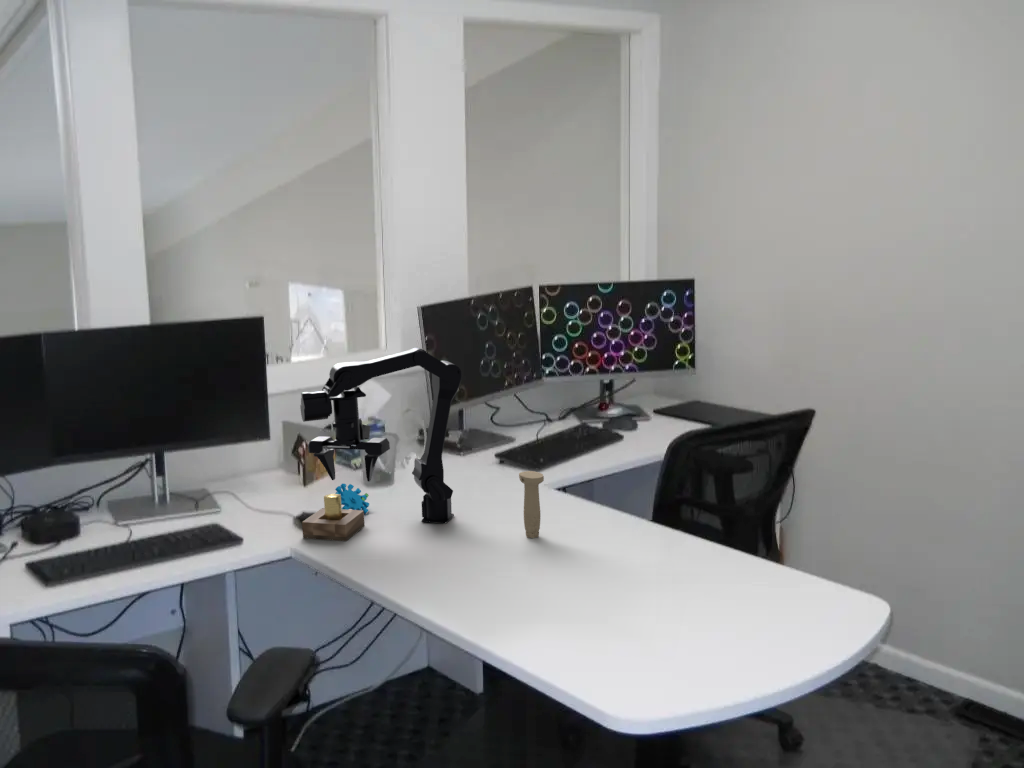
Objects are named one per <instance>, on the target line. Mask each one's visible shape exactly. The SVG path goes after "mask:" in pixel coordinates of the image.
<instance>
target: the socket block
mask: <svg viewBox="0 0 1024 768" xmlns="http://www.w3.org/2000/svg"><path fill="white" fill-rule="evenodd" d="M301 524H302V525H301V526H302V527H301V528H302V538H303V539H307V540H308V539H309V540H310V539H311V540H324V541H335V542H336V541H339V542H347V541H348V540H349V539H351V538H352V537H353V536H355V534H357V533H358V532H359V531H361V530H362V529H363V528H365V514H364V511H363V510H362V509H361V510H352V509H349V510H346V509H342V519H341V520H339V521H338V520H325V508H324V507H322V508H320V509H318V510H317V511H316V512H314V513H313V514H311V515H310V516H309V517H307V518H306V519H305V520H303V521H302V522H301Z"/></svg>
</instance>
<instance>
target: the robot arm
mask: <svg viewBox="0 0 1024 768" xmlns="http://www.w3.org/2000/svg"><path fill="white" fill-rule="evenodd" d="M414 367H420V368H421V369H424V370H425V371H427V372H429V373H430V374H431V385H432V393H433V399H432V405H431V411H430V412H431V413H430V417H429V422H428V429H427V434H426V441H425V444H424V445H425V447H424V451H423V454H422V455H421V457H420V459H419V458H417V457H416V458H414V462H413V463H414V465H413V467H414V468H413V470H412V471H411V474H412V476H413V479H414V481H415V483H416V485H417V486H418V487H419V488H420V489H421V490H422V491H423V492H424V493H425V494H424V495H423V497H422V498H423V500H422V501H421V517H422V519H421V522H422V523H434V524H448V522H450V520H452V519H453V518H454V516H455V514H454V513H452V496H453V493H454V490H453V489H452V488H451V487H450V486H449V485H448V484H446V483H445V482H444V481H445V480H444V476H445V475H444V464H443V452H444V446H445V439H446V435H447V429H448V423H449V418H450V411H451V406H452V401H453V399H454V397H455V396H456V394H457V393H458V390H459V388H460V386H461V382H462V379H463V372H462V370H461V369H460V367H459V366H458V365H457V364H454V363H452V362H450V361H447V360H440V359H438V358H436V357H434V356H433V355H431V354H430V353H428V352H427V351H426V350H424V348H420V347H418V346H416V347H413V348H411V349H407V350H405V351H400V352H397V353H393V354H389V355H385V356H382V357H377V358H373V359H369V360H367V361H365V360H363V361H344V362H337V363H336V364H334V365H332V367H331V369H330V371H329V378H328V379H327V381H326V382H325V384H324V386H323V387H322V389H321V390H319V391H311V392H310V391H303V392H301V393H300V394H301V397H300V405H299V406H300V408H299V409H300V413H301V414H300V415H301V419H302V421H303V422H304V423H305V422H312V421H314V422H315V421H323V420H328V419H329V417H331V415H332V414H333V417H334V418H333V419H334V422H333V423H332V428H333V429H335V439H333V437H332V436H320V435H318V436H317V437H315V438H313V439H311V440H310V441H309V442H308V445H307V447H308V448H307V451H308V453H309V454H313V457H316V458H317V459H318V460H319V462H320V463H321V464H322V466H323V468H324V469H325V470H326V472H327V474H328V475H329V478H330V480H332V481H334V480H335V479H336V469H335V468H336V467H335V462H334V461H335V460H334V459H335V458H334V455H335V450H360V451H361V450H362V451H364V453H366V455H364V466H365V475H366V480H367V482H371V480H372V477H373V473H374V469H375V467H376V464H377V462H378V459H379V457H380V456H383V454H385V453H387V452H388V451H389V450H390V449H391V446H390V441H389V440H388V438H387V437H372V438H371V439H370V432H371V426H369V425H366V424H363V421H362V418H360V414H359V400H358V399H359V398H366V396H367V394H366V393H365V392H363V391H362V389H361V388H360V385H363V384H365V383H366V382H368V381H369V380H371V379H373V378H376V377H377V378H378V377H381V376H384V375H388V374H393V373H395V372H399V371H403V370H407V369H410V368H411V369H412V368H414ZM364 440H367V441H364Z"/></svg>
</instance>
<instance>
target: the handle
mask: <svg viewBox="0 0 1024 768" xmlns="http://www.w3.org/2000/svg"><path fill="white" fill-rule="evenodd" d="M518 477H519V481H520V482H521V483H522V484H524V487H523V489H524V490H523V492H524V493H523V494H524V495H523V526H524V529H525V536H526V538H528V539H535V538H536V539H537V538H539V536H540V529H541V506H540V505H541V504H540V487H539V486H540V484H541V483H543V482H544V479H545V477H544V474H543V473H541V472H539V471H534V470H526V471H522V472H519V473H518Z"/></svg>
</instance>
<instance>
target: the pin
mask: <svg viewBox="0 0 1024 768" xmlns="http://www.w3.org/2000/svg"><path fill="white" fill-rule="evenodd" d="M323 503H324V504H323V506H324V507H323V508H325V520H338V521H339V520H341V519H342V507H343V506H342V505H341V495H340V494H335V493H328V494H325V495H324V496H323Z"/></svg>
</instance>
